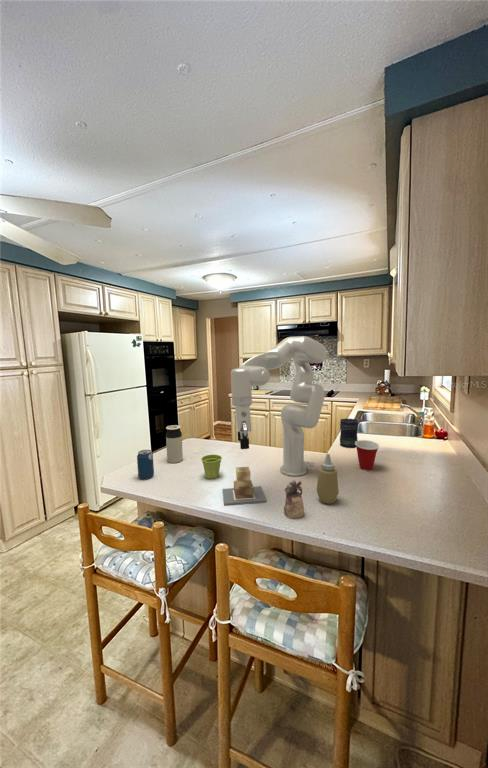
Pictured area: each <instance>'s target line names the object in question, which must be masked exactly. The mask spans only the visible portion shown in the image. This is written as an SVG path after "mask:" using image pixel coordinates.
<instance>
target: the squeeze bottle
mask: <svg viewBox="0 0 488 768" xmlns="http://www.w3.org/2000/svg"><path fill="white" fill-rule="evenodd" d="M317 473H318V475H317V483H316V493H317V495H318V498H319V499H318V500H319V501H320V502H321V503H323V504H326V505H327V504H331V505H332V504H334V503H335V502H336V500H337V497H338V495H339V492H340V491H339V483H338V482H339V481H338V471H337V470H336V469H335V463H333V462H332V460H331V454H330V453H326V454H325V459H324V461H323V462H321V466H320V468H319V469H318V472H317Z"/></svg>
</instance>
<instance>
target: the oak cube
mask: <svg viewBox="0 0 488 768" xmlns="http://www.w3.org/2000/svg"><path fill="white" fill-rule="evenodd" d="M235 475H236V480H235V481H236V482H237V487H238V488H240V487H251V481H252V479H251V469H250V466H240V467H235Z"/></svg>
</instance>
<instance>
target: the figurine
mask: <svg viewBox="0 0 488 768" xmlns="http://www.w3.org/2000/svg"><path fill="white" fill-rule="evenodd" d="M301 485H302V481H301V480H299V481H298V482H296V480H291V481H289V482H288V483H287V485H286V487H285V489H284V492H285V501H284V507H283V514H284V516H285V518H288V519H291V520H292V519H293V520H296V519H300V518H302V517H303V516H304V513H305V506H304V500H303V496H302V495H303V489H302V488H303V487H302V486H301ZM299 491H300V492H299Z"/></svg>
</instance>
